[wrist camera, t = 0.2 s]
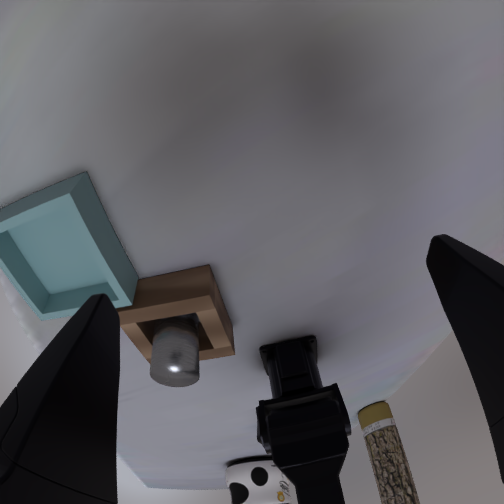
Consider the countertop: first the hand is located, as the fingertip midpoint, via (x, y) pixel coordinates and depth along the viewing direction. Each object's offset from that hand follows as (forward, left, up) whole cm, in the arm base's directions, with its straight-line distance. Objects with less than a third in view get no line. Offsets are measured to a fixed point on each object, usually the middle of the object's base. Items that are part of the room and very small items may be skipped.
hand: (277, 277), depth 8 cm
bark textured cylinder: (-57, -15, -15) cm, 61 cm away
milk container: (-83, +14, -15) cm, 86 cm away
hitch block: (-15, +9, -14) cm, 23 cm away
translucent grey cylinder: (-15, +9, -14) cm, 23 cm away
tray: (-5, +16, -14) cm, 22 cm away
